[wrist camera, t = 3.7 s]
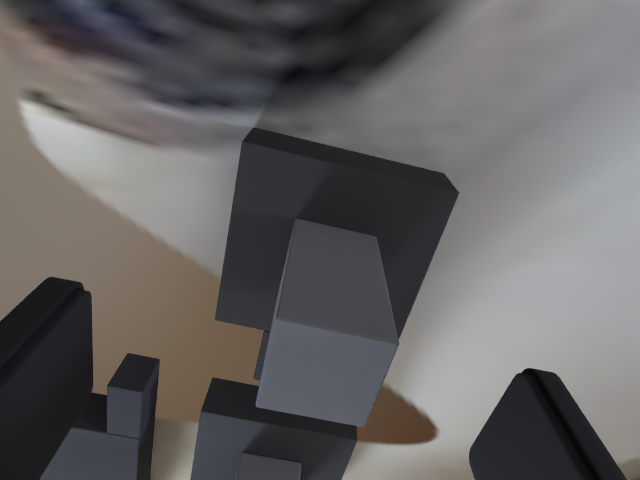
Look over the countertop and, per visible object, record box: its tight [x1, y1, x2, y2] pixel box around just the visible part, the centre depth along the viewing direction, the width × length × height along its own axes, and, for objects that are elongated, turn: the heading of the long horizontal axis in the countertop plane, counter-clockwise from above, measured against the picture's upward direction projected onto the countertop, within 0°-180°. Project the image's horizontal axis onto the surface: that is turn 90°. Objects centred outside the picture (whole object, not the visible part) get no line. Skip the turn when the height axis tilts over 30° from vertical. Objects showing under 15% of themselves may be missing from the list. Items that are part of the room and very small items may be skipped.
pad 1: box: [215, 128, 459, 427], centre depth 14 cm, size 10×7×7 cm
